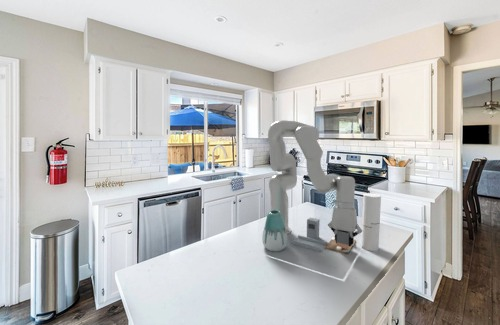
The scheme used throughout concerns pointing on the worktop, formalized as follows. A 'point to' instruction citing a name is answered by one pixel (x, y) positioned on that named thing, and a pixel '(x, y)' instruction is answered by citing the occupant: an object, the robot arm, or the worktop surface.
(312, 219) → the gray rectangular block
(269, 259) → the worktop surface
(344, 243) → the sleeve
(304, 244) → the chute
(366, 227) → the cylindrical container
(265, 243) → the vase
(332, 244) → the pin board
